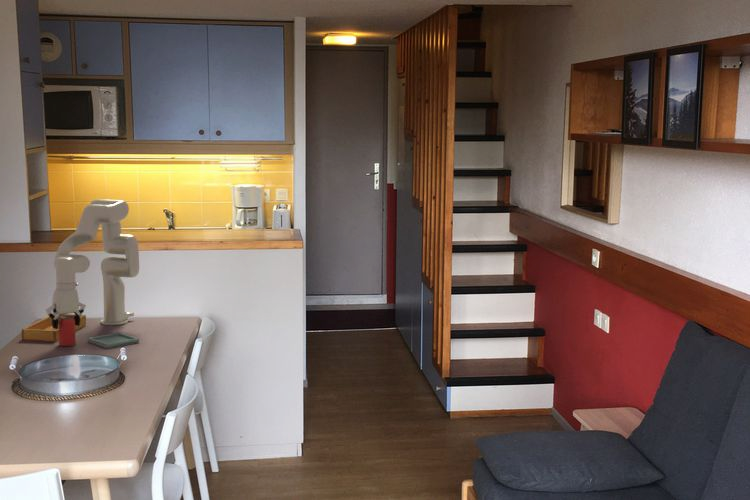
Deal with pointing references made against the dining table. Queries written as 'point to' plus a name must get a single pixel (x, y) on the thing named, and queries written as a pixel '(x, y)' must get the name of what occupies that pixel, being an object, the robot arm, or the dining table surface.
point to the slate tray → (113, 340)
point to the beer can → (67, 331)
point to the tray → (47, 329)
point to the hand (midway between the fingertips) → (66, 326)
